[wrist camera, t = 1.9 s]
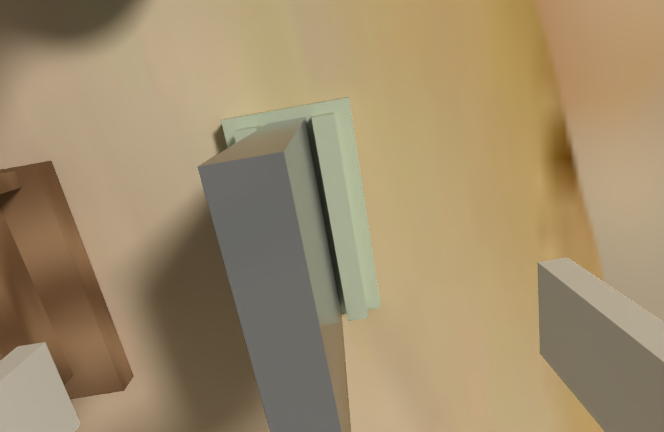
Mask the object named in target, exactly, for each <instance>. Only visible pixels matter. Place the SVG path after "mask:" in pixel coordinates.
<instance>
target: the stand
mask: <svg viewBox="0 0 664 432" xmlns="http://www.w3.org/2000/svg"><path fill="white" fill-rule="evenodd" d="M302 117H306V120H307V125H308V131H309V136H310V141H311V147H312V152H313V157H314V163H315V168H316V174H317V179H318V184H319V190H320V195H321V201H322V206H323V211H324V217H325V222H326V228H327V233H328V238H329V244H330V249H331V255H332V260H333V265H334V271H335V276H336V281H337V287H338V292H339V298H340V303H341V312H342V314H344V313H347V317H348V321H351V320H358V319H364V318H368V314H367V310H369V309H375V308H381V304H380V298H379V291H378V285H377V278H376V272H375V265H374V258H373V252H372V245H371V239H370V232H369V226H368V219H367V212H366V206H365V199H364V193H363V186H362V180H361V173H360V166H359V160H358V153H357V147H356V140H355V134H354V127H353V120H352V114H351V107H350V101H349V97H346V98H341V99H335V100H330V101H324V102H318V103H313V104H307V105H302V106H296V107H290V108H285V109H279V110H274V111H268V112H262V113H257V114H251V115H246V116H240V117H234V118H229V119H224V120H221V123H222V127H223V131H224V135H225V139H226V143H227V147H228V148H229V147H230V146H232V145H234V144H235V143H237V142H239V141H240V140H242V139H243V138H245V137H247V136H248V135H250V134H252V133H253V132H255V131H256V130H258V129H260V128H261V127H263V126H265V125H266V124H268V123H274V122H279V121H285V120H290V119H296V118H302Z"/></svg>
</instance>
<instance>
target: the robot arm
mask: <svg viewBox="0 0 664 432" xmlns="http://www.w3.org/2000/svg"><path fill="white" fill-rule="evenodd" d="M538 296H539V334H540V354H541V355H542V356H543V358H544V359H545V360H546V361H547V362H548V364H549V365H550V366H551V367H552V368H553V370H554V371H555V372H556V373H557V374H558V376H559V377H560V378H561V379H562V380H563V382H564V383H565V384H566V385H567V387H568V388H569V389H570V390H571V391H572V393H573V394H574V395H575V396H576V397H577V399H578V400H579V401H580V402H581V403H582V405H583V406H584V407H585V408H586V409H587V411H588V412H589V413H590V414H591V415H592V417H593V418H594V419H595V420H596V422H597V423H598V424H599V425H600V426H601V428H602V429H603V430H604V431H605V432H664V322H663V321H661V320H660V319H658V318H657V317H655V316H654V315H652V314H651V313H649V312H648V311H646V310H645V309H644V308H642V307H640V306H639V305H638V304H636V303H635V302H633V301H632V300H630V299H629V298H627V297H625V296H624V295H623V294H621V293H620V292H618V291H617V290H615V289H614V288H612V287H611V286H609V285H608V284H606V283H605V282H603V281H602V280H600V279H599V278H598V277H596V276H595V275H593V274H592V273H590V272H589V271H587V270H586V269H584V268H583V267H581V266H580V265H578V264H577V263H575V262H574V261H572V260H571V259H569V258H568V257H567V258H561V259H555V260H549V261H542V262H538ZM80 425H81V424H80V421H79V419H78V417H77V414H76V412H75V410H74V407H73V405H72V403H71V400H70V398H69V396H68V394H67V391H66V389H65V387H64V384H63V382H62V380H61V377H60V375H59V373H58V370H57V368H56V366H55V364H54V361H53V359H52V357H51V354H50V352H49V350H48V347H47V345H46V343H45V342H42V343H36V344H30V345H23V346H18V347H16V348H15V349H14V350H13V351H11V352H10V353H9V354H8V355H7V356H5V357H4V358H3V359H2V360H0V432H75V431H76V430H77V429H78V427H79V426H80Z"/></svg>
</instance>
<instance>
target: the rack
mask: <svg viewBox="0 0 664 432" xmlns="http://www.w3.org/2000/svg"><path fill="white" fill-rule="evenodd" d="M42 342H45V343H46V345H47V347H48V350H49V352H50V354H51V357H52V359H53V361H54V364H55V366H56V368H57V370H58V373H59V375H60V377H61V380H62V382H63V384H64V387H65V389H66V391H67V394H68V396H69V398H70V399H74V398H80V397H87V396H93V395H99V394H106V393H112V392H118V391H124V390H125V388H126V387H127V385H128V384H129V382H130V381H131V379H132V378H133V374H132V371H131V368H130V366H129V363H128V361H127V358H126V355H125V353H124V350H123V347H122V345H121V342H120V340H119V337H118V334H117V332H116V329H115V327H114V324H113V321H112V319H111V316H110V313H109V311H108V308H107V306H106V303H105V300H104V298H103V295H102V293H101V290H100V287H99V285H98V282H97V279H96V277H95V274H94V272H93V269H92V266H91V264H90V261H89V258H88V256H87V253H86V251H85V248H84V245H83V243H82V240H81V238H80V235H79V232H78V230H77V227H76V224H75V222H74V219H73V217H72V214H71V211H70V209H69V206H68V203H67V201H66V198H65V196H64V193H63V190H62V188H61V185H60V183H59V180H58V177H57V175H56V172H55V169H54V167H53V164H52V162H51V161H47V162H42V163H36V164H30V165H25V166H19V167H14V168H8V169H2V170H0V360H2V359H3V358H4V357H5V356H7V355H8V354H9V353H10V352H11V351H13V350H14V349H15V348H16V347H18V346H23V345H30V344H36V343H42Z"/></svg>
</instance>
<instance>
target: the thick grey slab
mask: <svg viewBox="0 0 664 432" xmlns="http://www.w3.org/2000/svg"><path fill="white" fill-rule="evenodd" d="M198 170H199V174H200V177H201V181H202V185H203V188H204V192H205V195H206V199H207V203H208V206H209V210H210V214H211V217H212V221H213V225H214V228H215V232H216V236H217V239H218V243H219V247H220V250H221V254H222V258H223V261H224V265H225V269H226V272H227V276H228V280H229V283H230V287H231V290H232V294H233V298H234V301H235V305H236V309H237V312H238V316H239V320H240V323H241V327H242V331H243V334H244V338H245V342H246V345H247V349H248V353H249V356H250V360H251V364H252V367H253V371H254V374H255V378H256V382H257V385H258V389H259V393H260V396H261V400H262V404H263V407H264V411H265V415H266V418H267V422H268V426H269V429H270V432H351V424H350V411H349V399H348V387H347V374H346V362H345V349H344V337H343V325H342V312H341V303H340V298H339V292H338V287H337V281H336V276H335V271H334V265H333V260H332V255H331V249H330V244H329V238H328V233H327V228H326V222H325V217H324V211H323V206H322V201H321V195H320V190H319V184H318V179H317V174H316V168H315V163H314V157H313V152H312V147H311V141H310V136H309V131H308V125H307V120H306V117H302V118H296V119H290V120H285V121H279V122H274V123H268V124H266V125H265V126H263V127H261V128H260V129H258V130H256V131H255V132H253V133H252V134H250V135H248V136H247V137H245V138H243V139H242V140H240V141H239V142H237V143H235V144H234V145H232V146H230V147H229V148H227V149H226V150H224V151H222V152H221V153H219V154H217V155H216V156H214V157H213V158H211V159H209V160H208V161H206V162H204V163H203V164H201V165H199V166H198Z"/></svg>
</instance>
